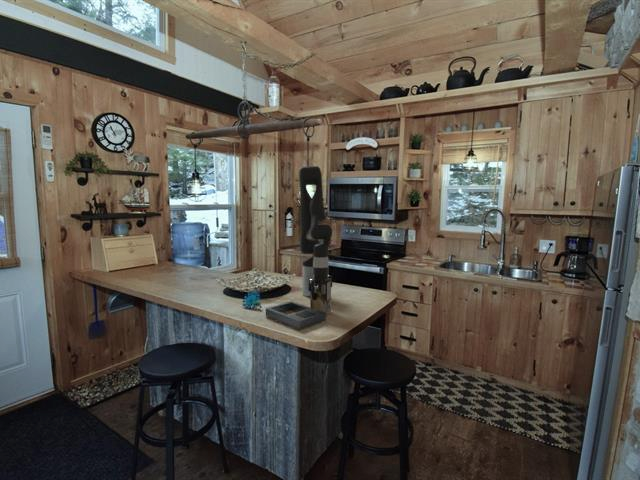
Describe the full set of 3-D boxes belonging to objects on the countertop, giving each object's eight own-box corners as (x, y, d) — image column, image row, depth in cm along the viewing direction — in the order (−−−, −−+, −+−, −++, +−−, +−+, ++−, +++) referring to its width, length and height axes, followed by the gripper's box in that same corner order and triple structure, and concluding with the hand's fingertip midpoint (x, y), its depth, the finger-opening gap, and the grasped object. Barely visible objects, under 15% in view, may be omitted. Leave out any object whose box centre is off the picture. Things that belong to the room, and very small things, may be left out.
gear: (238, 303, 176) (249, 288, 180) (244, 309, 180) (255, 293, 184) (252, 311, 169) (264, 294, 173) (257, 316, 173) (269, 300, 177)
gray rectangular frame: (291, 308, 174) (291, 300, 173) (325, 321, 157) (325, 312, 156) (265, 316, 162) (265, 307, 162) (299, 330, 146) (299, 320, 145)
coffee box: (331, 311, 170) (332, 280, 168) (327, 315, 164) (327, 283, 162) (314, 309, 173) (314, 278, 171) (309, 313, 167) (309, 281, 165)
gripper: (325, 262, 174) (325, 293, 175) (304, 266, 164) (304, 299, 165) (336, 264, 168) (336, 296, 170) (315, 268, 158) (315, 302, 160)
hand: (320, 298), depth 168 cm, fingers open, 8 cm apart
